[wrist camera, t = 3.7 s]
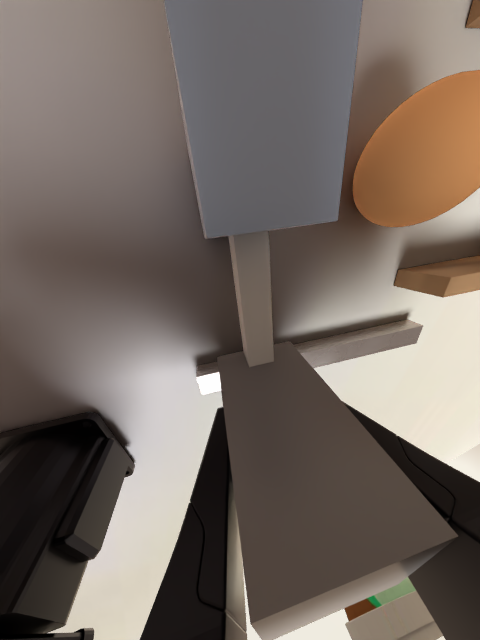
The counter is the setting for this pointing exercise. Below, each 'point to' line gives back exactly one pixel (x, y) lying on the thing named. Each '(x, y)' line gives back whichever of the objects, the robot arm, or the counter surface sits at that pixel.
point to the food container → (392, 616)
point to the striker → (256, 308)
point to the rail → (333, 349)
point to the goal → (451, 273)
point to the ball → (422, 155)
